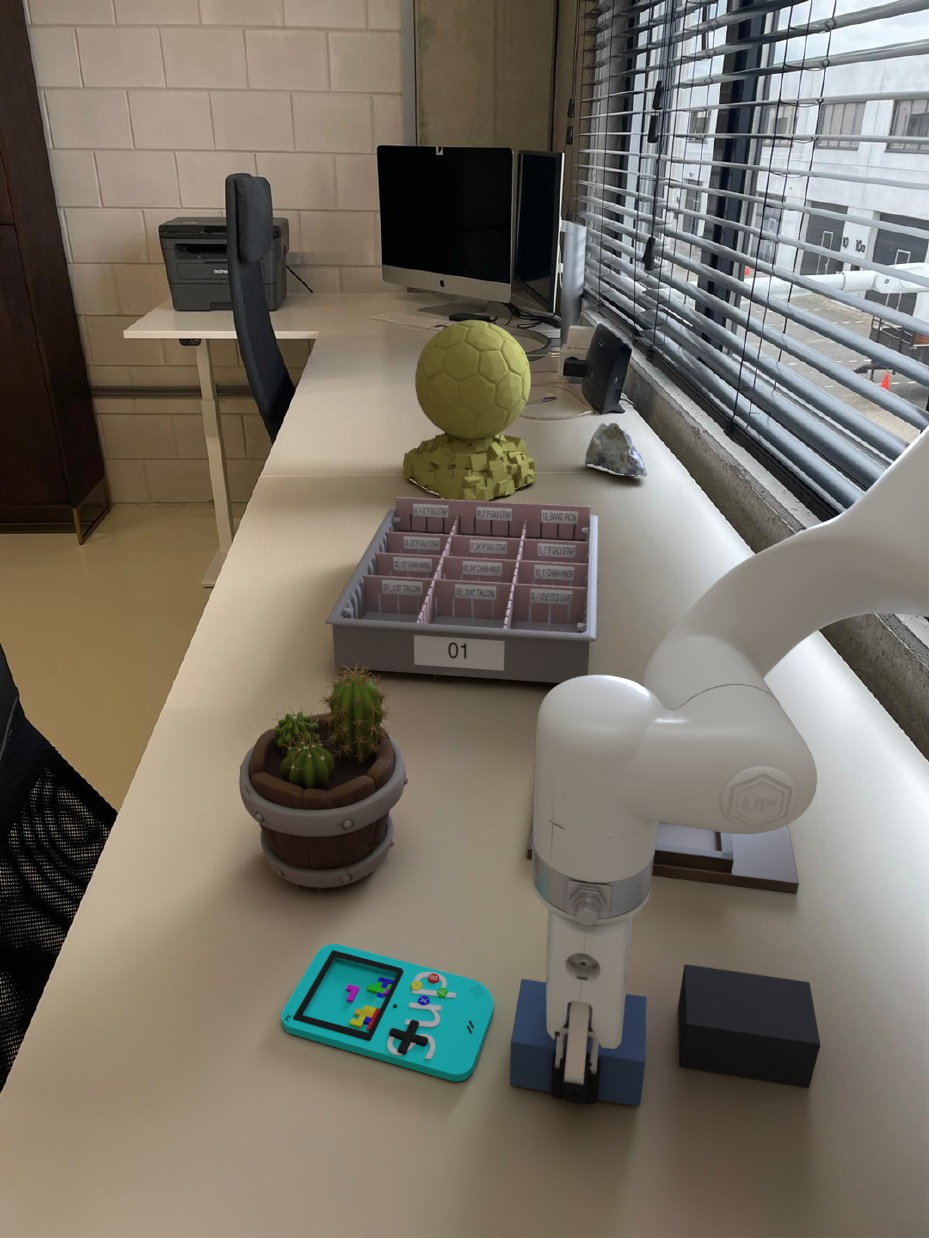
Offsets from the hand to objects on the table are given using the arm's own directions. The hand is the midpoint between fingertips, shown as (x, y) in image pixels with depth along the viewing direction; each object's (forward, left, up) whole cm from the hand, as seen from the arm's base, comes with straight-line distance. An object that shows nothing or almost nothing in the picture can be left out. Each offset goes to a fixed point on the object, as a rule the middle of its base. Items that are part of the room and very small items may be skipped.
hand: (577, 1056), depth 68 cm
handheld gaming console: (+14, -2, -1) cm, 14 cm away
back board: (-6, -31, -1) cm, 31 cm away
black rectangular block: (-12, -4, -1) cm, 12 cm away
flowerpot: (+24, -18, -1) cm, 30 cm away
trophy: (+30, -124, -1) cm, 128 cm away
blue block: (0, 0, 0) cm, 0 cm away
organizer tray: (+19, -69, -1) cm, 72 cm away
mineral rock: (+3, -134, -1) cm, 134 cm away
